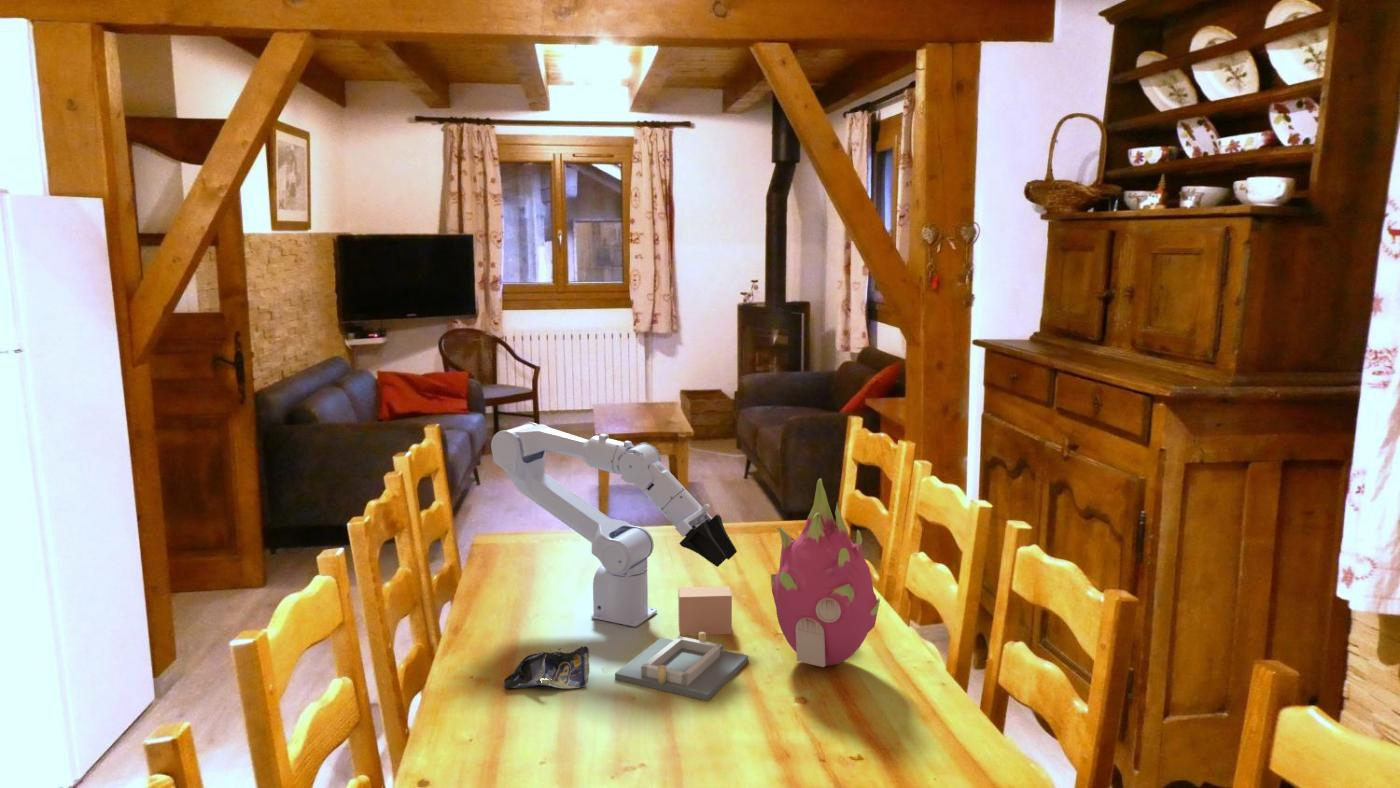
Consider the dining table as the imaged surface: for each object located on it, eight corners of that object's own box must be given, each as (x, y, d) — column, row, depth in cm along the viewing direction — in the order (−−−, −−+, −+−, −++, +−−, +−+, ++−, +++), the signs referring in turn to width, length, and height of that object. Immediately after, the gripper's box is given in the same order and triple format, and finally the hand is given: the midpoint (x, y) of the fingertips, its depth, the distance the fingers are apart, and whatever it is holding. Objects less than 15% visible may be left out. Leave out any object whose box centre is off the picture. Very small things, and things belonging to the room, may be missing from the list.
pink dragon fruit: (756, 672, 152) (757, 487, 147) (781, 639, 164) (783, 467, 159) (868, 691, 145) (873, 498, 140) (885, 655, 158) (891, 477, 153)
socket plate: (615, 679, 149) (614, 658, 149) (661, 643, 163) (661, 623, 162) (707, 701, 142) (707, 678, 142) (748, 661, 156) (748, 640, 155)
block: (679, 635, 166) (679, 597, 165) (678, 625, 170) (678, 587, 169) (731, 634, 166) (731, 595, 165) (729, 623, 171) (729, 586, 170)
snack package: (541, 711, 140) (603, 681, 149) (534, 667, 140) (596, 639, 148) (493, 698, 149) (554, 670, 157) (486, 656, 148) (547, 631, 157)
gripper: (677, 488, 159) (733, 549, 156) (700, 481, 173) (753, 537, 170) (648, 517, 160) (704, 578, 157) (674, 508, 174) (725, 564, 171)
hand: (727, 559), depth 164 cm, fingers open, 7 cm apart
